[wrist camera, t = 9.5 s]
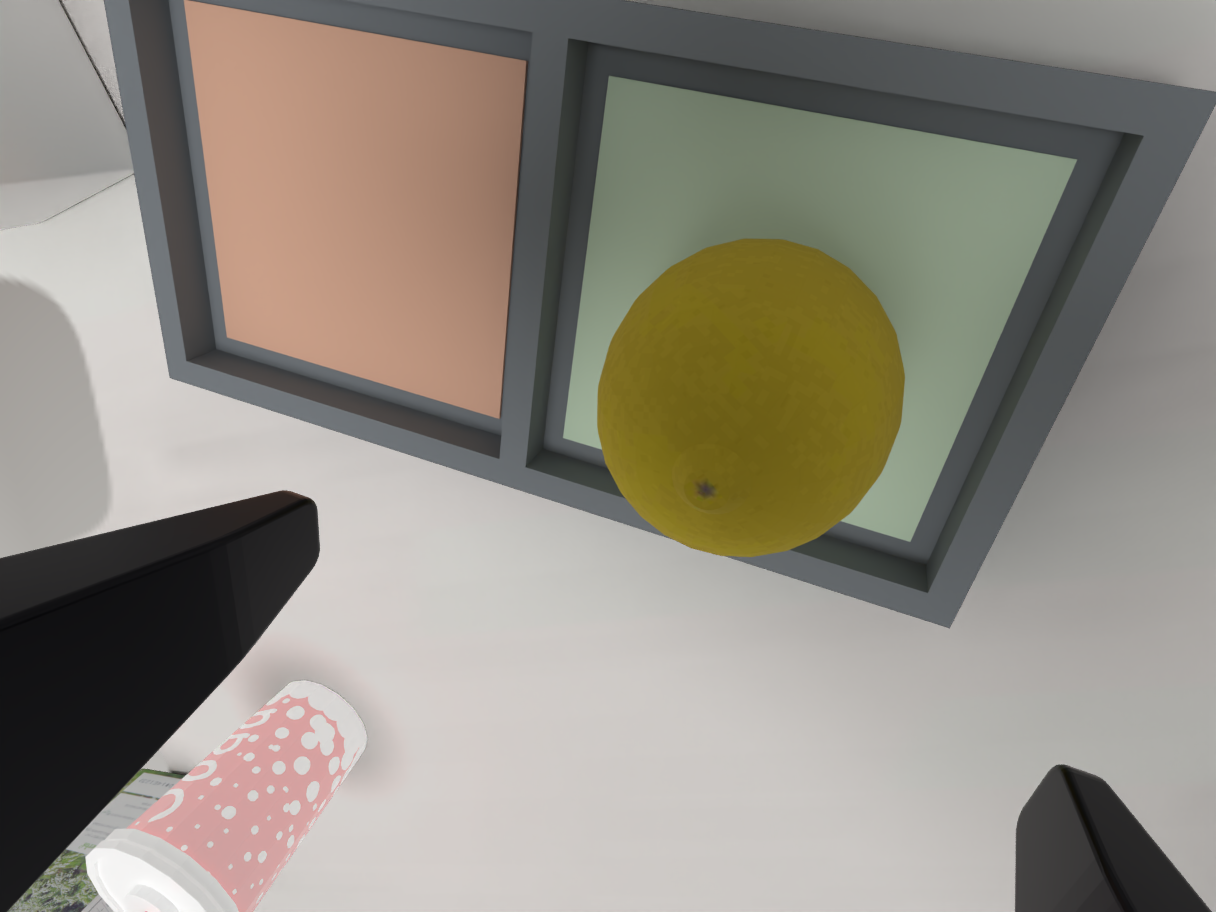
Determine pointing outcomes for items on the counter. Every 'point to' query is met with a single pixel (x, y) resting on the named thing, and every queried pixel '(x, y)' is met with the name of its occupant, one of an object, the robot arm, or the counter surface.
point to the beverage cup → (234, 811)
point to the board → (630, 230)
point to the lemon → (750, 397)
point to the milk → (52, 117)
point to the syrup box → (64, 894)
